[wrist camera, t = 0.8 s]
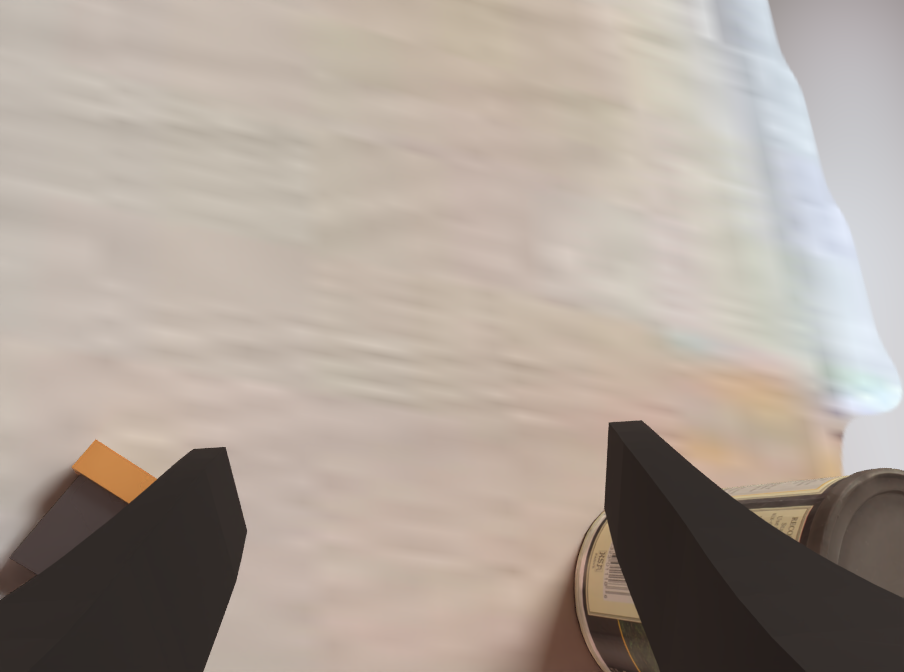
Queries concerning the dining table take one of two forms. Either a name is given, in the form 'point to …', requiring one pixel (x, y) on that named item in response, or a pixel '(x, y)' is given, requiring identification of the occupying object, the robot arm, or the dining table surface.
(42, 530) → the drift key
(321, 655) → the dining table surface
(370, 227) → the dining table surface
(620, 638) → the coffee can
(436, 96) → the dining table surface
